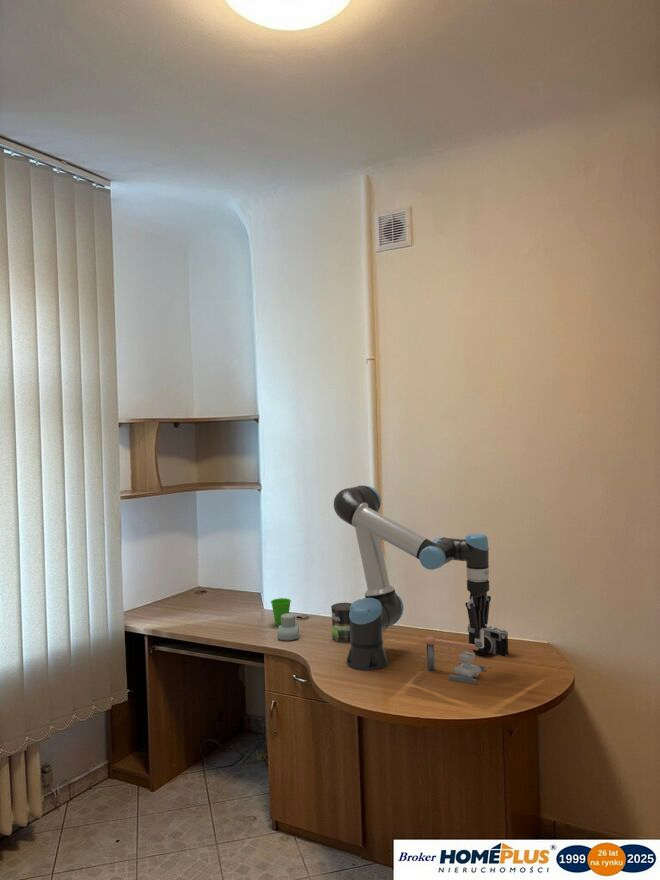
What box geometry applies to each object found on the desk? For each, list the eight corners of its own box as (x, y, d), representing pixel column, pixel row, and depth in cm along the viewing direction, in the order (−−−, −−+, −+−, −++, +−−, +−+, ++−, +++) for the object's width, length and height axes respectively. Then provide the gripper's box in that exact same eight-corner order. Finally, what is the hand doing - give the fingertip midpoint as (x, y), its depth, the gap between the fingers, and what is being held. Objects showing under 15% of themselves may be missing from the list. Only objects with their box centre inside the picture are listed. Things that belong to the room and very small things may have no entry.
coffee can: (339, 646, 240) (338, 611, 240) (327, 639, 249) (326, 605, 249) (362, 641, 245) (361, 607, 244) (349, 634, 254) (348, 601, 253)
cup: (294, 627, 265) (293, 602, 265) (274, 630, 262) (273, 605, 261) (288, 621, 273) (287, 597, 273) (269, 624, 270) (268, 599, 270)
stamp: (484, 678, 206) (483, 654, 206) (472, 684, 202) (472, 659, 202) (462, 671, 213) (461, 647, 213) (450, 677, 208) (450, 652, 208)
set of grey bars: (418, 677, 209) (417, 649, 209) (430, 663, 220) (429, 637, 220) (475, 687, 200) (474, 658, 199) (485, 672, 211) (484, 645, 210)
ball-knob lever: (423, 643, 213) (423, 636, 213) (427, 640, 216) (426, 633, 216) (481, 652, 203) (480, 645, 203) (483, 649, 206) (483, 641, 206)
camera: (456, 650, 233) (456, 624, 232) (472, 643, 239) (472, 618, 239) (495, 663, 219) (494, 636, 219) (511, 656, 225) (510, 629, 225)
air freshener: (298, 643, 245) (297, 619, 245) (277, 644, 245) (276, 619, 245) (299, 634, 256) (298, 610, 256) (279, 635, 256) (278, 611, 256)
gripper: (477, 585, 202) (478, 655, 202) (497, 577, 211) (499, 644, 212) (458, 581, 207) (459, 649, 208) (478, 573, 216) (480, 639, 217)
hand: (479, 646), depth 210 cm, fingers closed
